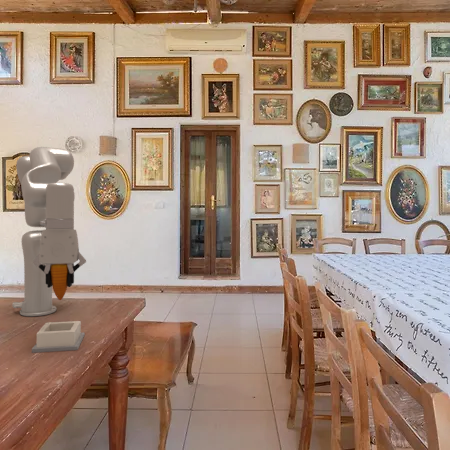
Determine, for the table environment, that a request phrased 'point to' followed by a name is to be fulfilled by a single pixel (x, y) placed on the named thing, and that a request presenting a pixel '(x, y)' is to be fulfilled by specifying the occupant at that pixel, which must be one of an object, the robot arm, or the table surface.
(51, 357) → the table surface
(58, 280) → the carrot
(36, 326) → the table surface
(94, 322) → the table surface
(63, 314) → the table surface
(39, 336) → the holder
